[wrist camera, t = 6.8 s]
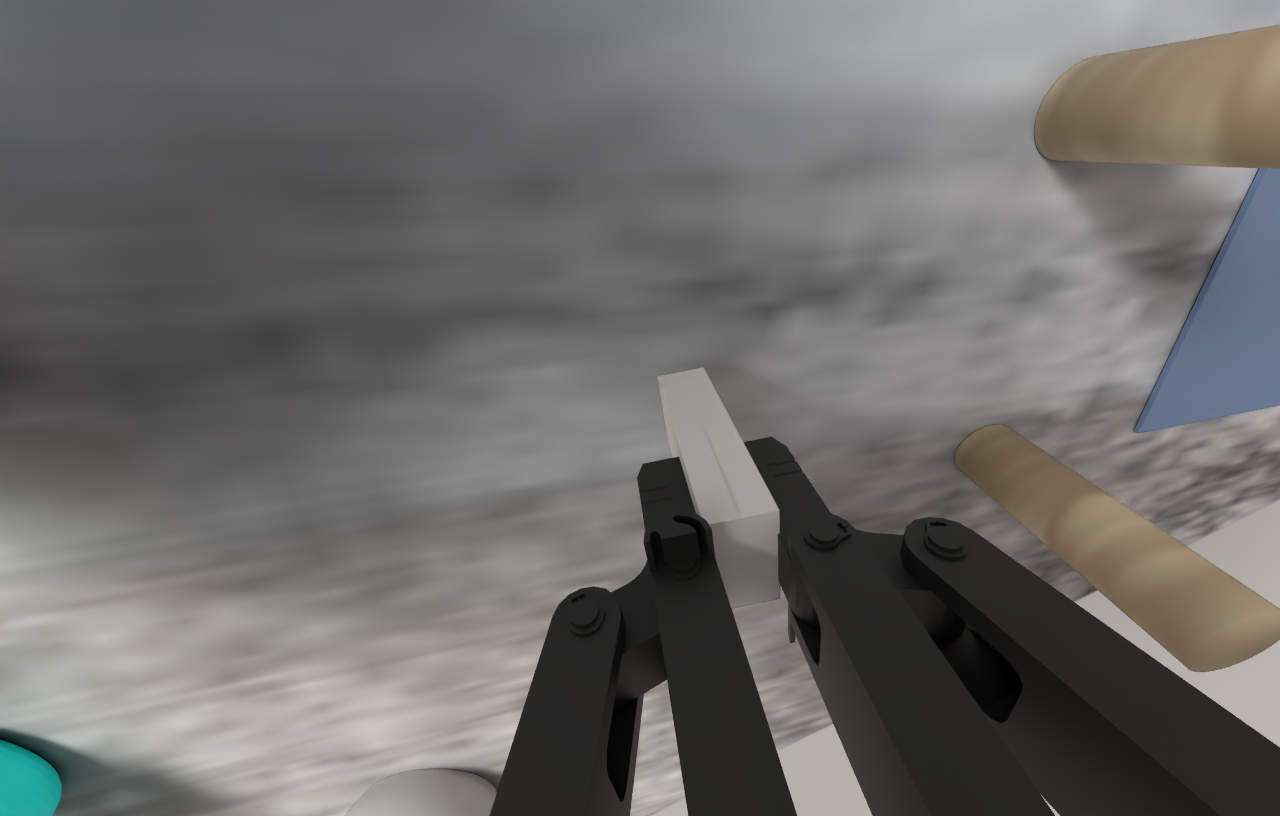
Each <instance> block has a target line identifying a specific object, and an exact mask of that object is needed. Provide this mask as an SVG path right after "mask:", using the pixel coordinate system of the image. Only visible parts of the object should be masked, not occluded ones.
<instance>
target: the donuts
mask: <svg viewBox="0 0 1280 816" xmlns="http://www.w3.org/2000/svg"><path fill="white" fill-rule="evenodd" d="M61 793H62V786H61V781H60V778H59V775H58V773H57V772H56V771H55V769H54V768H53V767H52V766H51V765H50V764H49V763H48V762H46V761H45V760H44V759H43V758H41V757H39V756H38V755H37V754H34V753H32V752H31V751H29V750H27V749H25V748H22V747H20V746H17V745H15V744H12V743H10V742H7V741H3V740H0V816H52V815H53V813H54V812H55V810H56V808H57V806H58V804H59V801H60V798H61Z"/></svg>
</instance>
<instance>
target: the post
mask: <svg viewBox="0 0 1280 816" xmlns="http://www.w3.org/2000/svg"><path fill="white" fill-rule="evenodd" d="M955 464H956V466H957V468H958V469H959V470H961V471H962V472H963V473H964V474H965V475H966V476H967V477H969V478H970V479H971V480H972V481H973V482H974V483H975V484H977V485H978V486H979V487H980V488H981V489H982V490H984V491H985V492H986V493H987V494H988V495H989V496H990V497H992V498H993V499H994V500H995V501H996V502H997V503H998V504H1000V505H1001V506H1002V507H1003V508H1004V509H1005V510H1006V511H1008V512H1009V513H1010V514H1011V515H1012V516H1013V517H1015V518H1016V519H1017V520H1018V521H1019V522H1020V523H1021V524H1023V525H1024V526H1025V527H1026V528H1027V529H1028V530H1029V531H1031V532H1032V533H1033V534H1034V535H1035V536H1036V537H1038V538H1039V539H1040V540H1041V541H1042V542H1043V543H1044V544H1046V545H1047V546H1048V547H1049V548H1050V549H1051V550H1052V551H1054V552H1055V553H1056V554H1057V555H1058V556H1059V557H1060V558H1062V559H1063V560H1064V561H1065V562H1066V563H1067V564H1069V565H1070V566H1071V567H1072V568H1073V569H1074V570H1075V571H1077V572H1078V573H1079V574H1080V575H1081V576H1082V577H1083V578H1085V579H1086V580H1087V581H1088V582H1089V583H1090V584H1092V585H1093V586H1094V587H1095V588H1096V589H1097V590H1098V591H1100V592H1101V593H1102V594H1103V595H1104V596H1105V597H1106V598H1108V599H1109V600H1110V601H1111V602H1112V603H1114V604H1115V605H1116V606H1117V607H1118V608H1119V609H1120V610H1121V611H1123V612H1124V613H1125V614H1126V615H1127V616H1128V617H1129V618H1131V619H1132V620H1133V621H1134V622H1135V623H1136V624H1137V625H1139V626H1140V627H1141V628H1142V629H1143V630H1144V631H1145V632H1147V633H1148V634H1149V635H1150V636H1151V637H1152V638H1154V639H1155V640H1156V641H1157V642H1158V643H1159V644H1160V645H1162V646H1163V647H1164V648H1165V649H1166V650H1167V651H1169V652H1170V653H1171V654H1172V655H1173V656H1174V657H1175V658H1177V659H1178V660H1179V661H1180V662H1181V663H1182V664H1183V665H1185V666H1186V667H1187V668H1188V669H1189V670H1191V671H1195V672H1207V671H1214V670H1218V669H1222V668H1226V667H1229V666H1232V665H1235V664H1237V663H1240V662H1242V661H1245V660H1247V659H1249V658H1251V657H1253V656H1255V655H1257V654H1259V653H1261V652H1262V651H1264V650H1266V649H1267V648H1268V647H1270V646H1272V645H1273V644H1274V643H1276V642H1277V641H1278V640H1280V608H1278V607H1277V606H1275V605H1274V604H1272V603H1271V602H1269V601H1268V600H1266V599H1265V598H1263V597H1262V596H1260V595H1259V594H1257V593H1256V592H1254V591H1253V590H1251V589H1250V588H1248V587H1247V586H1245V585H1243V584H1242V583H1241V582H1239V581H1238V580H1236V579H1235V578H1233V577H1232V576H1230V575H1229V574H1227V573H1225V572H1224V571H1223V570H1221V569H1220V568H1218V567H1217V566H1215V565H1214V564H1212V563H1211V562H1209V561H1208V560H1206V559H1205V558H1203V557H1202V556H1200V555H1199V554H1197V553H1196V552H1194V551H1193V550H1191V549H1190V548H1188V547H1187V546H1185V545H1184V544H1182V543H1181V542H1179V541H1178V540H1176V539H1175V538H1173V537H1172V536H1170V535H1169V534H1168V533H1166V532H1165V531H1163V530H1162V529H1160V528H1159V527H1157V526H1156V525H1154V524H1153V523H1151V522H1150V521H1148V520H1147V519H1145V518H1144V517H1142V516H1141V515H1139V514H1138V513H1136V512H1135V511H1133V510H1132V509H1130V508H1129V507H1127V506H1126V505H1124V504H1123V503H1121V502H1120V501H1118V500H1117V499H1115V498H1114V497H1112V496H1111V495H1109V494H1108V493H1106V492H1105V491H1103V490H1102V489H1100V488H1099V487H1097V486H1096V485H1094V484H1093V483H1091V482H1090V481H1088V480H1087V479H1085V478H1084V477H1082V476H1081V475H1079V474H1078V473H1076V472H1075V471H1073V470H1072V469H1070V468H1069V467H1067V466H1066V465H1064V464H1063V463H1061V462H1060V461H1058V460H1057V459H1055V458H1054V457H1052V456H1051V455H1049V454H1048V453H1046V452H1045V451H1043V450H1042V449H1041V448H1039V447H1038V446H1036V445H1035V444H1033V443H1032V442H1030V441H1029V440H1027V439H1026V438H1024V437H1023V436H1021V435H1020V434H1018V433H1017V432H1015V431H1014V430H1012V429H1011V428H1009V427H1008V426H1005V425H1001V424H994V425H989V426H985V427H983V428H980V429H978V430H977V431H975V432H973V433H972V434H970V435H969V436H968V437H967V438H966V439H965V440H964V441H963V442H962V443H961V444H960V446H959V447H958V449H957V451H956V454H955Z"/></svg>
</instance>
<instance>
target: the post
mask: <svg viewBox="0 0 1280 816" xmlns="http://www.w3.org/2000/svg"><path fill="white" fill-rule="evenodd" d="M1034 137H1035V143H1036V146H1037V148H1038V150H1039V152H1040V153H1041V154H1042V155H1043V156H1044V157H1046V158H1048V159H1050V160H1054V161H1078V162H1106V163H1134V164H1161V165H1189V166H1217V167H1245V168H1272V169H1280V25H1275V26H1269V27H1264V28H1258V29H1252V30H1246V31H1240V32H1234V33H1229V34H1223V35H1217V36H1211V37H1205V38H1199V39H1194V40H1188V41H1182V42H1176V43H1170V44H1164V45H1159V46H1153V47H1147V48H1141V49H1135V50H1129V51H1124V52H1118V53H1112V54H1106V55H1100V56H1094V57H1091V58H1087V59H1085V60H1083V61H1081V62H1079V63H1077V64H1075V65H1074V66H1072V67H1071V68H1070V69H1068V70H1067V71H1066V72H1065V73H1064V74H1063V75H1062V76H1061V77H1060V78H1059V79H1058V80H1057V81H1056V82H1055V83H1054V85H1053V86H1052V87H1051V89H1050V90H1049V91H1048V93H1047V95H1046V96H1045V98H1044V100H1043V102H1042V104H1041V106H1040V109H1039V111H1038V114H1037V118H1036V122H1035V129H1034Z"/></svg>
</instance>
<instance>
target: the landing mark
mask: <svg viewBox="0 0 1280 816" xmlns="http://www.w3.org/2000/svg"><path fill="white" fill-rule="evenodd" d="M1278 405H1280V169H1272V168H1259V170H1258V172H1257V175H1256V177H1255V179H1254V181H1253V183H1252V185H1251V187H1250V189H1249V191H1248V193H1247V195H1246V198H1245V200H1244V202H1243V204H1242V206H1241V208H1240V210H1239V212H1238V214H1237V216H1236V218H1235V220H1234V223H1233V225H1232V227H1231V229H1230V231H1229V233H1228V235H1227V237H1226V239H1225V241H1224V243H1223V246H1222V248H1221V250H1220V252H1219V254H1218V256H1217V258H1216V260H1215V262H1214V264H1213V266H1212V268H1211V271H1210V273H1209V275H1208V277H1207V279H1206V281H1205V283H1204V285H1203V287H1202V289H1201V291H1200V294H1199V296H1198V298H1197V300H1196V302H1195V304H1194V306H1193V308H1192V310H1191V312H1190V314H1189V316H1188V319H1187V321H1186V323H1185V325H1184V327H1183V329H1182V331H1181V333H1180V335H1179V337H1178V339H1177V342H1176V344H1175V346H1174V348H1173V350H1172V352H1171V354H1170V356H1169V358H1168V360H1167V362H1166V364H1165V367H1164V369H1163V371H1162V373H1161V375H1160V377H1159V379H1158V381H1157V383H1156V385H1155V387H1154V390H1153V392H1152V394H1151V396H1150V398H1149V400H1148V402H1147V404H1146V406H1145V408H1144V410H1143V412H1142V415H1141V417H1140V419H1139V421H1138V423H1137V425H1136V427H1135V429H1134V432H1136V433H1138V434H1139V433H1144V432H1149V431H1154V430H1158V429H1163V428H1168V427H1173V426H1178V425H1183V424H1188V423H1193V422H1198V421H1203V420H1208V419H1213V418H1218V417H1223V416H1228V415H1233V414H1238V413H1243V412H1248V411H1253V410H1258V409H1263V408H1268V407H1273V406H1278Z"/></svg>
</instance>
